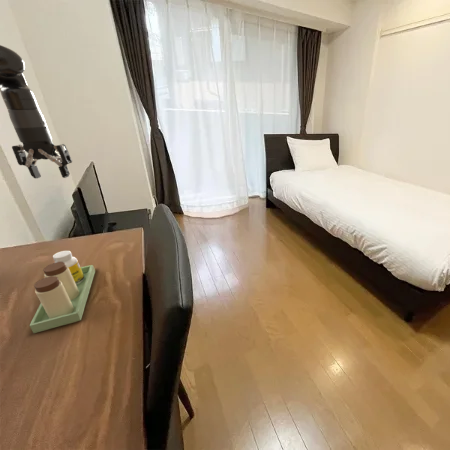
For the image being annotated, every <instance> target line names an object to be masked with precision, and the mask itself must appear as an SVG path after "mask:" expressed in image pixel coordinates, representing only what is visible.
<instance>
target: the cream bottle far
mask: <svg viewBox="0 0 450 450" xmlns="http://www.w3.org/2000/svg"><path fill="white" fill-rule="evenodd" d="M33 287H34V289H35V290H34V292H35V294H36V297H37V299H38V300H39V302H40V304H42V306H43V307H44V309H45V311H46V313H47V315H48V317H49V318H50V319H52V318H55V317H59V316H63V315H67V314H71V313H72V312H73V311H74V307H73V305H72V303H71V301H70V299H69V296H68V294H67V292H66V290H65V288H64V286H63V284H62V282H61V281H59V279H58V277H56V276H51V277H46V278H45V277H43V278H41V279H39V280H38V281H36V282H35V283H34V285H33Z"/></svg>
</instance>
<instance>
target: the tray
mask: <svg viewBox="0 0 450 450" xmlns="http://www.w3.org/2000/svg"><path fill="white" fill-rule="evenodd" d="M80 267H81V270H82V272H83V275H84V280H83V281H82V282H81V283H79V284H77V285H76V286H77V288H78V290H79V292H80V293H79V295H78V296H77V297H76V298H74V299H73V300H70V301H71V303H72V305H73V307H74V311H73V312H72V313H71V314H67V315H63V316H59V317H55V318H52V319H50V318H49V317H48V315H47V313H46V311H45V309H44V307H43V306H42V304H41V303H40V304H39V305H38V307H37V310H36V312H35V313H34V316H33V318H32V320H31V322H30V324H29V328H30V330H31V331H32V333H33V334H36V333H40V332H43V331H47V330H51V329H54V328H58V327H61V326H65V325H69V324H72V323H77V322H79V321H82V318H83V314H84V311H85V307H86V304H87V301H88V298H89V295H90V291H91V287H92V284H93V280H94V277H95V274H96V269H95V267H94V264H90V265H85V266H80Z"/></svg>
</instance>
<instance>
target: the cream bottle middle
mask: <svg viewBox="0 0 450 450" xmlns="http://www.w3.org/2000/svg"><path fill="white" fill-rule="evenodd" d="M42 271H43V273H44V274H43V276H44V278H46V277H51V276H56V277H58V279H59V281H61V282H62V284H63V286H64V288H65V290H66V292H67V294H68V296H69V299H70V300H73V299H74V298H76V297H77V296H78V295H79V293H80V292H79V290H78V288H77V286H76V283H75V281H74V279H73V277H72V275H71V272H70V270H69V268H68V267H67V266H66V265H65V263H64V262H56V263H55V262H53V263H50V264H47V265H46V266H45V267H43V270H42Z"/></svg>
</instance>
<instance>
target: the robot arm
mask: <svg viewBox="0 0 450 450" xmlns="http://www.w3.org/2000/svg"><path fill="white" fill-rule="evenodd" d="M25 70H26V64H25V61H24V60H23V58H22V57H21V56H20V54H19V53H17V52H16V51H14V50H13V49H11V48H9V47H7V46H4V45H1V44H0V95H1V98H2V100H3V103H4V104H5V105H4V106H5V107H6V109H7V112H8V117H9V119H10V122H11V125H12V127H13V129H14V130H15V133H16V136H17V138H18V140H19V142H20V143H21V144H16V145H12V146H11V149H12V152H13V154H14V156H15V160H16V162H17V164H18V165H19V166H24V167H26V168H27V169H28V172H29V174H30V176H31V177H32V178H33V179H40V178H41V177H42V175H41V172H40V170H39V168H38V165H36V164H37V162H38V161H39V160H49V161H50V162H52V163H54V164H56V165H57V166H58V170H59V172H60V175H61V177H62V179H67V178H69V177H70V170H69V168H68V164H72V163H73V159H72V157H71V155H70V153H69V150H68V148H67V145H66V144H65V143H62V144H55V143H53V137H52V134H51V132H50V129H49V127H48V124H47V121H46V118H45V116H44V114H43V113H42V110H41V108H40V106H39V103H38V101H37V98H36V96H35V94H34V92H33V91H32V89H31V88H30V87H29V86H28V83H27V81H26V78H25V75H24V72H25ZM26 153H27V154H26Z"/></svg>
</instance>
